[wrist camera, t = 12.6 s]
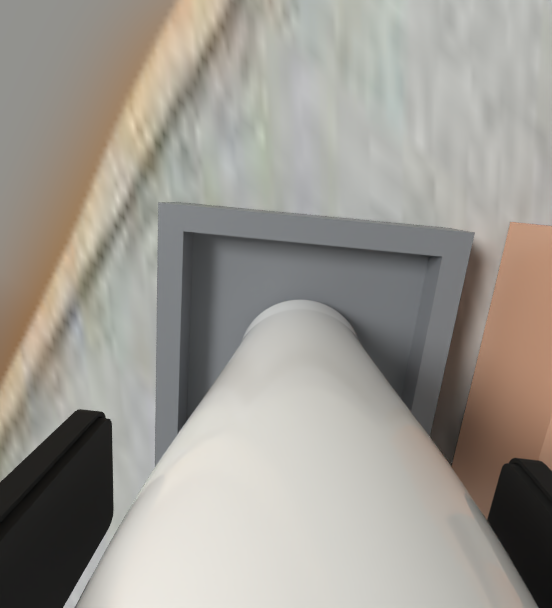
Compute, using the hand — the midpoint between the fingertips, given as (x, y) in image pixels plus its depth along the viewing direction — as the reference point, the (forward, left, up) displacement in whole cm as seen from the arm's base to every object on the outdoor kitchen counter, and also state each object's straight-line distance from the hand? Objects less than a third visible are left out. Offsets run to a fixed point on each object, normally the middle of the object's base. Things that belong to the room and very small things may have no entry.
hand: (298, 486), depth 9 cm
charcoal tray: (0, 0, -10) cm, 10 cm away
